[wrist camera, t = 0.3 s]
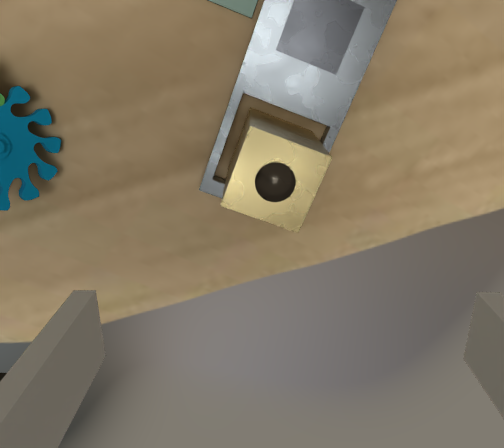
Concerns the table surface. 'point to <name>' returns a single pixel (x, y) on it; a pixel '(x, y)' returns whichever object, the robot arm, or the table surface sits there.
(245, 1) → the translucent green panel
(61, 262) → the table surface
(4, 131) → the blue spiky knobbed toy
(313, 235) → the table surface
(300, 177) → the wooden speaker box
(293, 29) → the rail
